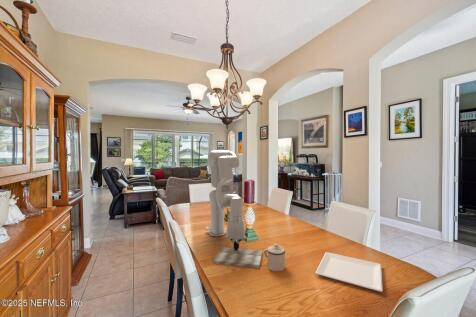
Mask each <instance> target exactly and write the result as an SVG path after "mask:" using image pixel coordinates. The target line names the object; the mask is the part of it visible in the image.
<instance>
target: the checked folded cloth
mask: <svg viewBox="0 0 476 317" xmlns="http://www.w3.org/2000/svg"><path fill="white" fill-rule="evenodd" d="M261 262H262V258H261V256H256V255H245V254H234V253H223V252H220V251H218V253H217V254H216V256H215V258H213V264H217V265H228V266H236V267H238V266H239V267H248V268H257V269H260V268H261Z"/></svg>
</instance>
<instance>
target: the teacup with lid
mask: <svg viewBox="0 0 476 317" xmlns="http://www.w3.org/2000/svg"><path fill="white" fill-rule="evenodd" d="M263 251H264V257H265V258H266V259H267V269H268V270H270V271H273V272H282V271H284V270H285V267H286V250H285V248H284V247H283V246H281V245H279V244H278V243H274V245H270V246H268V247H267V248H266V249H265V250H263Z"/></svg>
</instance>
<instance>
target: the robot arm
mask: <svg viewBox="0 0 476 317" xmlns="http://www.w3.org/2000/svg"><path fill="white" fill-rule="evenodd" d="M207 161H208V164H209V167H210V184H211V185H210V186H211V187H212V188H215V189H213V190H211V191H210V192H209V194H208V195H209V196H208V197H209V203H210V226H205V231H208V235H209V236H212V237H222V236H225V235H226V237H227V238H226V239H227V240H230V241H231V242H232V243H233V244H232V245H233V247H232V248H234V250H236V251H237V250H238V249H240V243H241V242H242V241H245V240H246V227H245V226H246V225H245V220H244V219H243V218H244V217H243V216H244V214H243V211H244V210H243V209H244V208H243V205H244V204H243V197H241V196H240V195H239V194H237V193H234V181H233V180H234V173H233V169H237V168H239V167H240V160H239V156H237V155H236V153H234V152H233V151H231V150H212V151H209V153H208V155H207ZM222 188H223V189H222ZM224 208H229V215H227V218H226V219H228V220H227V228H226V230H225V209H224Z"/></svg>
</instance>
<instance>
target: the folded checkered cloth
mask: <svg viewBox="0 0 476 317" xmlns="http://www.w3.org/2000/svg"><path fill="white" fill-rule="evenodd" d="M219 252H223V253H234V254H245V255H256V256H261V259H262V257H263V250H259V249H247V248H246V249H245V248H239V249H238V250H237V251H236V250H234V248H233V247H223V246H222V247H221V248H220V250H219Z"/></svg>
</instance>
